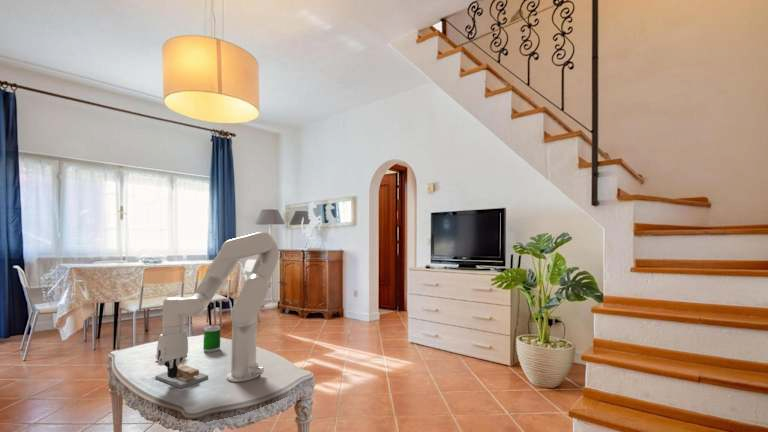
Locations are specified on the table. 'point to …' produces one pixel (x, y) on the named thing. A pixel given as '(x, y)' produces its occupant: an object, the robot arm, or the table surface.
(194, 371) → the swing bar
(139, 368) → the table surface
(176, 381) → the label board
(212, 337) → the soda can
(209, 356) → the table surface
